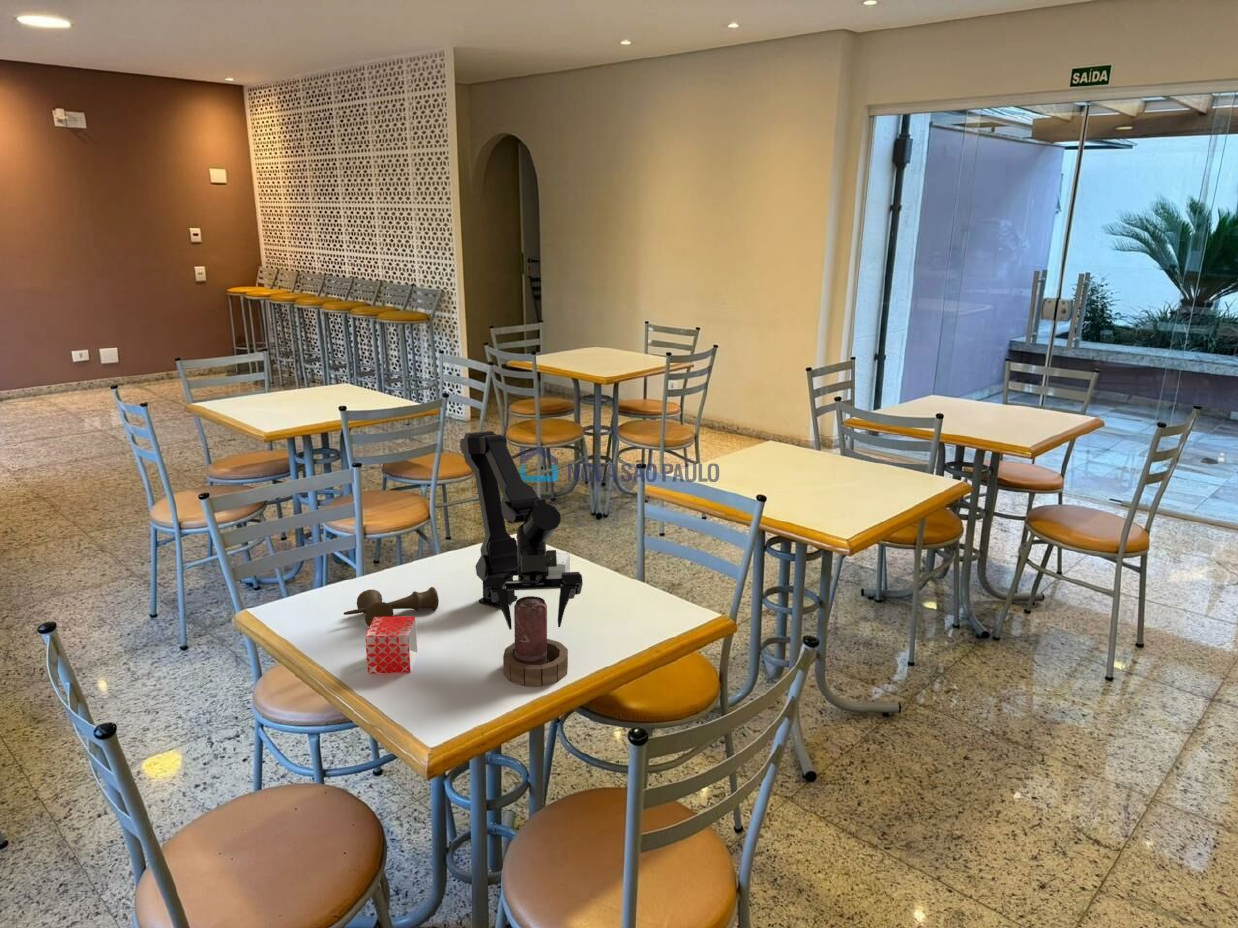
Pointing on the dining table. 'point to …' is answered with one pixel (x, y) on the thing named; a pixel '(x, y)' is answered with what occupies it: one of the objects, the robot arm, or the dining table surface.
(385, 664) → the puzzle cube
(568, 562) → the small box
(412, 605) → the kendama
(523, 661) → the can
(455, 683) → the dining table surface
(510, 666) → the walnut ring
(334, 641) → the dining table surface
